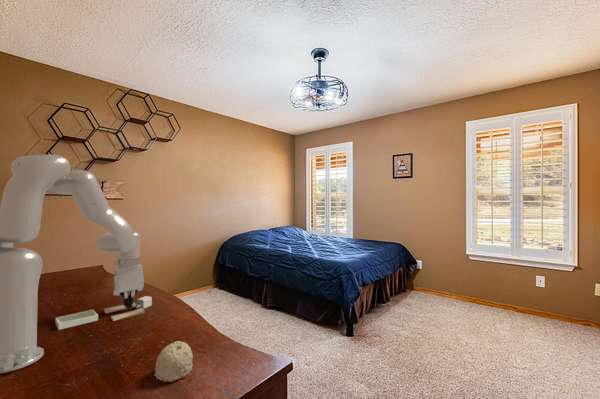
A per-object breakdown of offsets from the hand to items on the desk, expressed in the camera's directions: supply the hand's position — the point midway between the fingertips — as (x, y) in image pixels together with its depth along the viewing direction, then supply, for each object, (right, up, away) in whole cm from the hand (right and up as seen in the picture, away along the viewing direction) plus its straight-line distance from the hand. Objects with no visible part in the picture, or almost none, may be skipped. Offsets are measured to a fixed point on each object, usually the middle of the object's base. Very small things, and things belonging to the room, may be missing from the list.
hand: (128, 306), depth 118 cm
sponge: (+37, -2, -42) cm, 56 cm away
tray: (-13, -2, -11) cm, 17 cm away
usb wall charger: (+4, -2, +3) cm, 5 cm away
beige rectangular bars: (-1, -2, -1) cm, 2 cm away
